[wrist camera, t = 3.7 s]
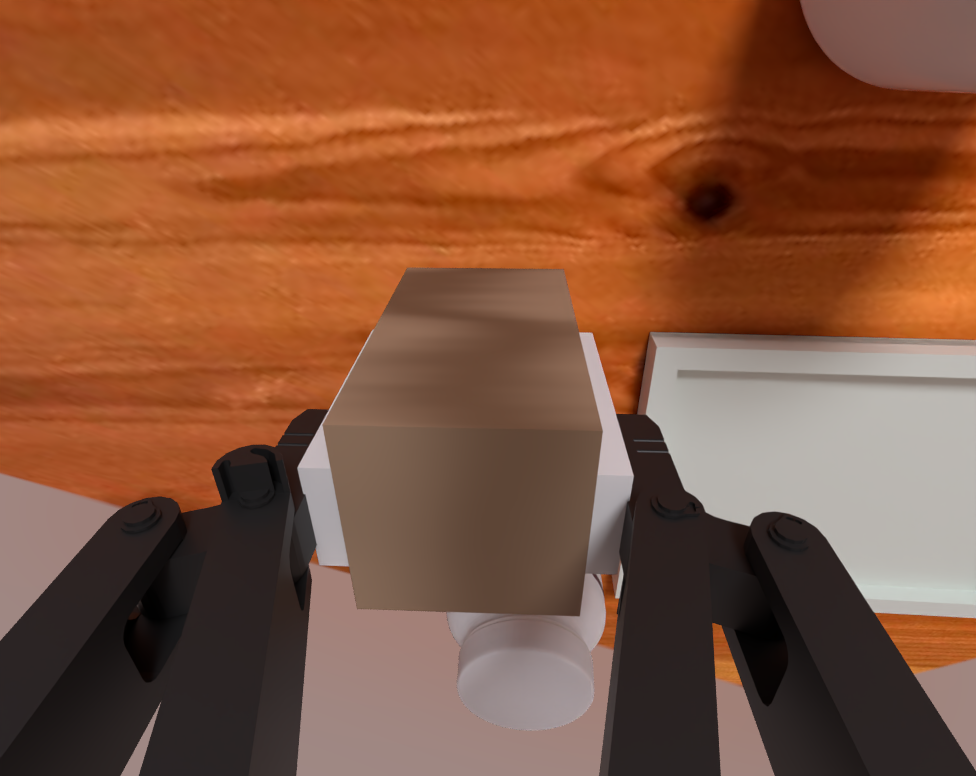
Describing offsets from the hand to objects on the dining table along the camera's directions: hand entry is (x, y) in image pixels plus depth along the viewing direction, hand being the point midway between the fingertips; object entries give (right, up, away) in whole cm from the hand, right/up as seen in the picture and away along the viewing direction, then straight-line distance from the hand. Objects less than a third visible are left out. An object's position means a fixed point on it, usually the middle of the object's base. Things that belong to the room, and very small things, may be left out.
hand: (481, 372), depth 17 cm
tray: (+17, -5, +10) cm, 20 cm away
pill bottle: (+2, -5, +11) cm, 13 cm away
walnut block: (0, +1, +2) cm, 2 cm away
